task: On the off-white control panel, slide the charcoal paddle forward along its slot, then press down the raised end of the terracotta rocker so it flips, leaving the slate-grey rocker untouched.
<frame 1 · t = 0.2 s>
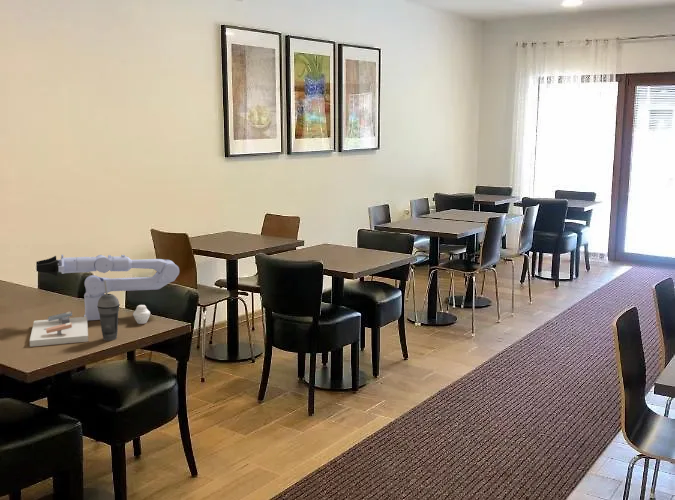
hand: (36, 266, 250), 21 cm above the table, tool horizontal, fingers open, 7 cm apart
beverage cup: (110, 339, 235), on the table
rocker terracotta: (59, 327, 232), point 4 cm above the table, hinge at 10.0°
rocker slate: (60, 316, 247), point 4 cm above the table, hinge at 10.0°
white rounded jar: (142, 323, 255), on the table
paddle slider: (65, 322, 240), point 4 cm above the table, slide at 0.0 cm
switch panel: (60, 333, 240), on the table
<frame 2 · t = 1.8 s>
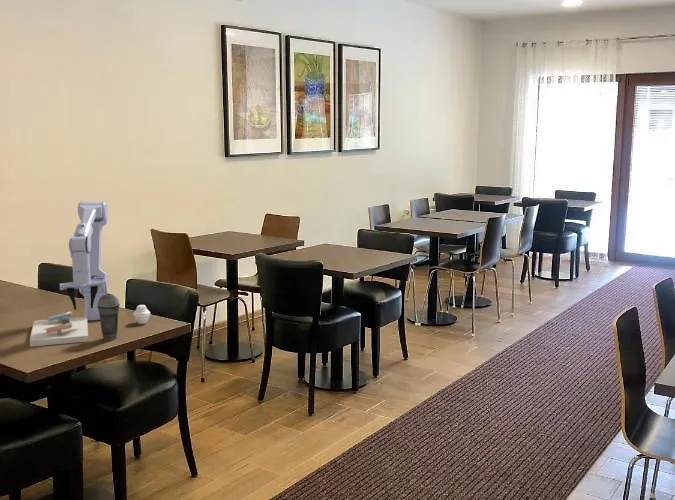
hand: (83, 308, 242), 8 cm above the table, tool pointing down, fingers open, 5 cm apart
nothing on the table moved.
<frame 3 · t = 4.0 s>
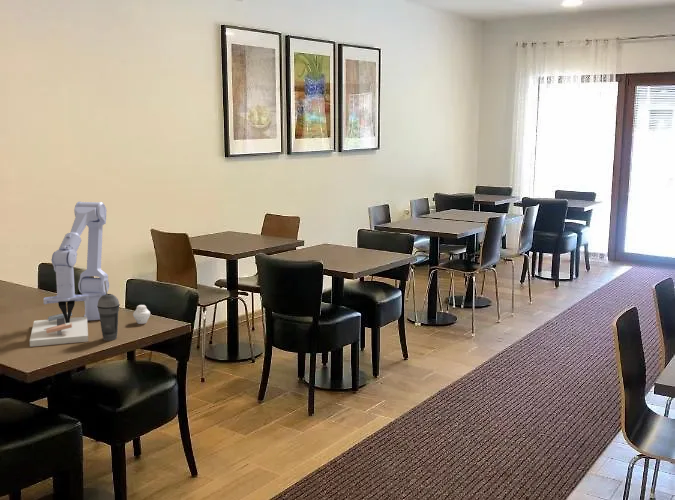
hand: (67, 322, 241), 4 cm above the table, tool pointing down, fingers closed
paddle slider: (60, 323, 240), point 4 cm above the table, slide at 1.7 cm, touching gripper
everything else where it was.
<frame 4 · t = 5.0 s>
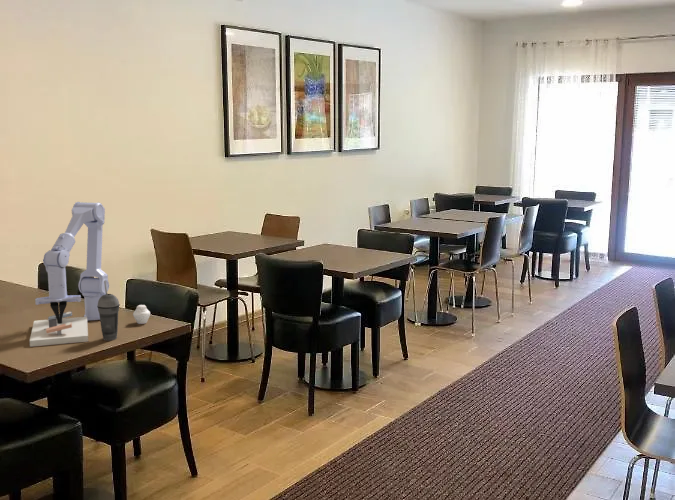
hand: (59, 322, 240), 4 cm above the table, tool pointing down, fingers closed
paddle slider: (52, 323, 239), point 4 cm above the table, slide at 4.2 cm, touching gripper
everything else where it was.
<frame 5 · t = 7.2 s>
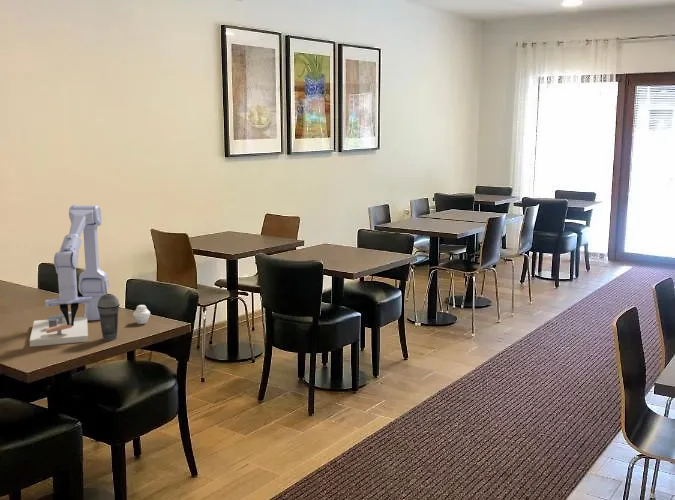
hand: (70, 325, 233), 5 cm above the table, tool pointing down, fingers closed, pressing on rocker terracotta
rocker terracotta: (59, 327, 232), point 4 cm above the table, hinge at 9.6°, touching gripper
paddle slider: (52, 323, 239), point 4 cm above the table, slide at 4.2 cm
everything else where it was.
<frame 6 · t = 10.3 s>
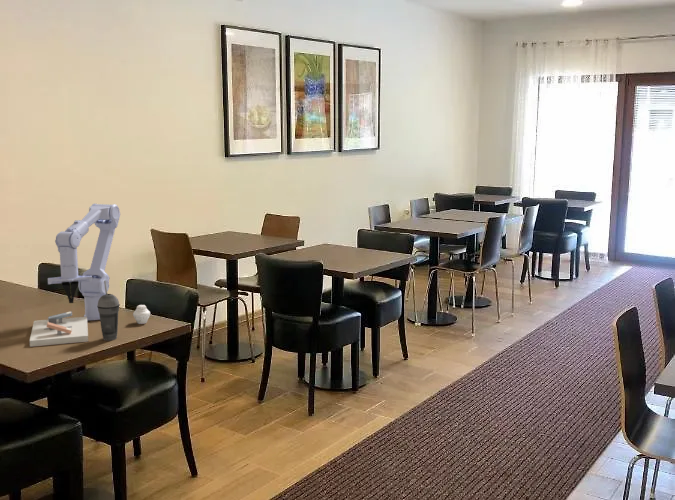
hand: (71, 302, 246), 9 cm above the table, tool pointing down, fingers closed
rocker terracotta: (59, 327, 232), point 4 cm above the table, hinge at -22.3°
everything else where it was.
at the end: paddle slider slide at 4.2 cm; rocker terracotta at -22° (first picture: +10°); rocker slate at +10° (first picture: +10°) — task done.
